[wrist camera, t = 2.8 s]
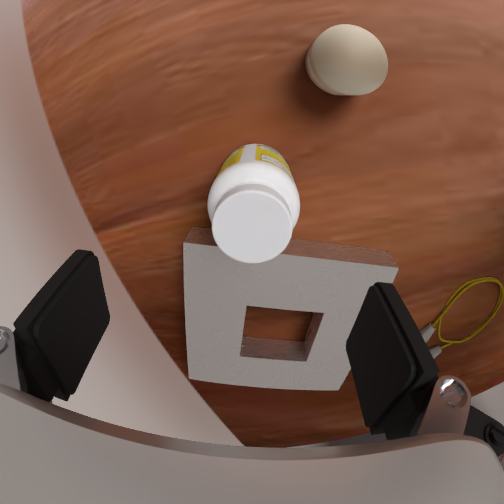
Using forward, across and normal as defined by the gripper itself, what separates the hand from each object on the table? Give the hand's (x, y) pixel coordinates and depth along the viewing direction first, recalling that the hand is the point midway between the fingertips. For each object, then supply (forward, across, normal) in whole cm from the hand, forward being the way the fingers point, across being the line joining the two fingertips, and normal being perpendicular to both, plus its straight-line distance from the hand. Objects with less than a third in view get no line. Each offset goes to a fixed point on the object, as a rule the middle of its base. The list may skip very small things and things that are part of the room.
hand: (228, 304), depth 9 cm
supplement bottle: (+15, -1, 0) cm, 15 cm away
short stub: (+15, -6, -10) cm, 19 cm away
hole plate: (+15, -5, +14) cm, 21 cm away
